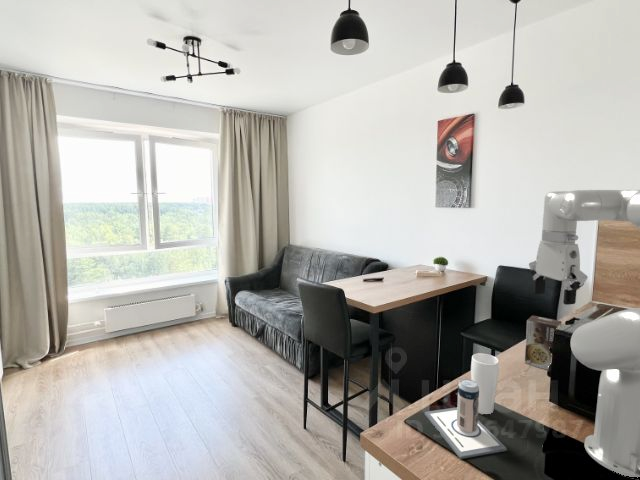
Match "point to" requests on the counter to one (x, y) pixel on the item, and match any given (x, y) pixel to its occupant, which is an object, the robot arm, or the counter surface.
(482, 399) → the drinking glass
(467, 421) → the beer can
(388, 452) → the counter surface
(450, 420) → the tablet
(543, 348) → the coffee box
